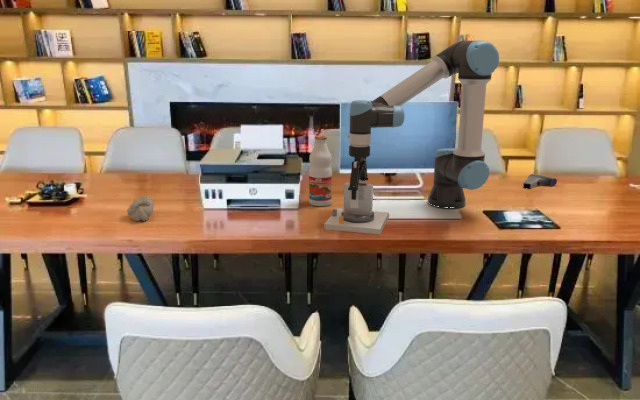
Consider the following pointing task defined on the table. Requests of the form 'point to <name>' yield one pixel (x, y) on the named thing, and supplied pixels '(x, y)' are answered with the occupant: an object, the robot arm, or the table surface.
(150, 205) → the fossil replica
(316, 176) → the fruit juice
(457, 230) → the table surface
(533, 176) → the infrared thermometer
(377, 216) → the dial plate
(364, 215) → the dial knob
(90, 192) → the table surface
